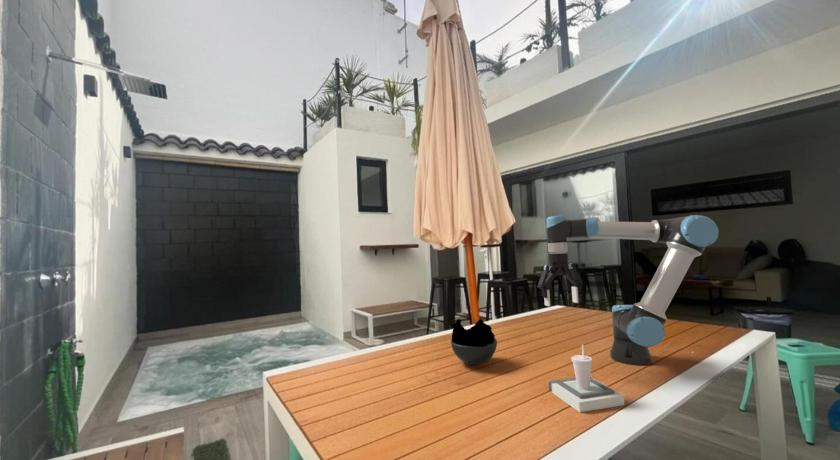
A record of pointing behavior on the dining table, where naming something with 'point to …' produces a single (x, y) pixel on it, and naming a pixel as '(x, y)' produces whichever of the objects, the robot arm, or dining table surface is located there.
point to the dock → (586, 395)
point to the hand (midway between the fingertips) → (561, 304)
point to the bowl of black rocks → (473, 342)
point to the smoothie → (582, 370)
